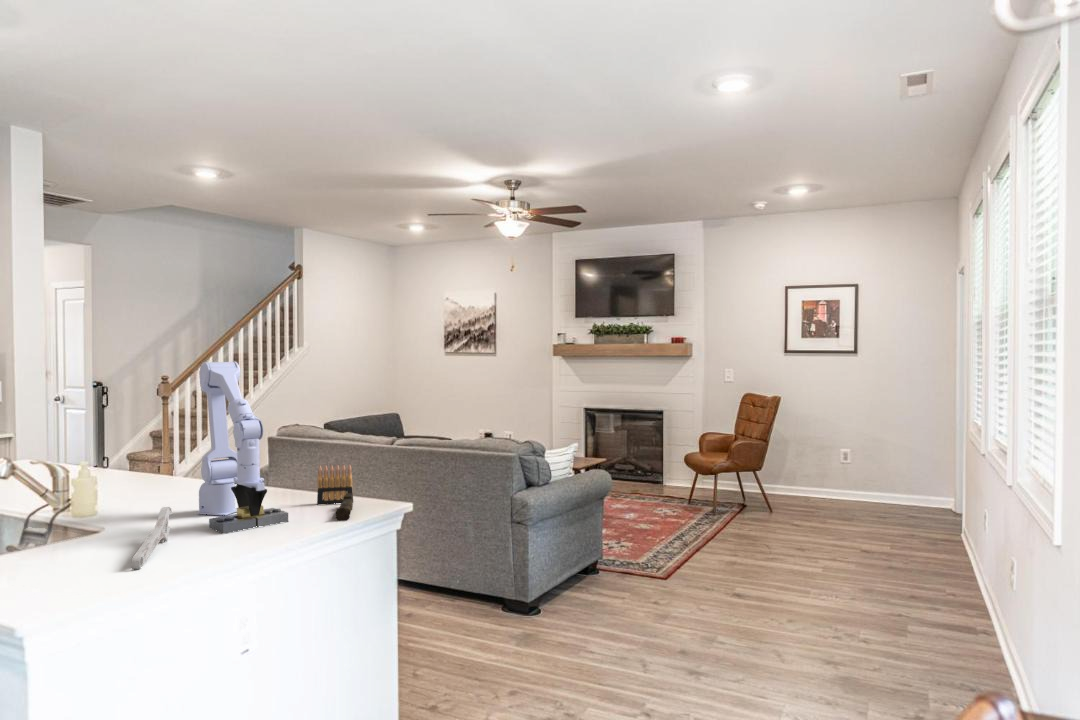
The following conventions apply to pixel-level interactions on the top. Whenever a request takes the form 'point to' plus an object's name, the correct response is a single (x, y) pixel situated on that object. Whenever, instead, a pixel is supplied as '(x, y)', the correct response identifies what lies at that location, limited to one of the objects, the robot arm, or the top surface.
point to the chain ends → (247, 521)
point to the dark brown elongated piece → (345, 508)
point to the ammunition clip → (334, 485)
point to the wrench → (153, 539)
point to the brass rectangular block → (246, 512)
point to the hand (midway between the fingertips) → (249, 513)
